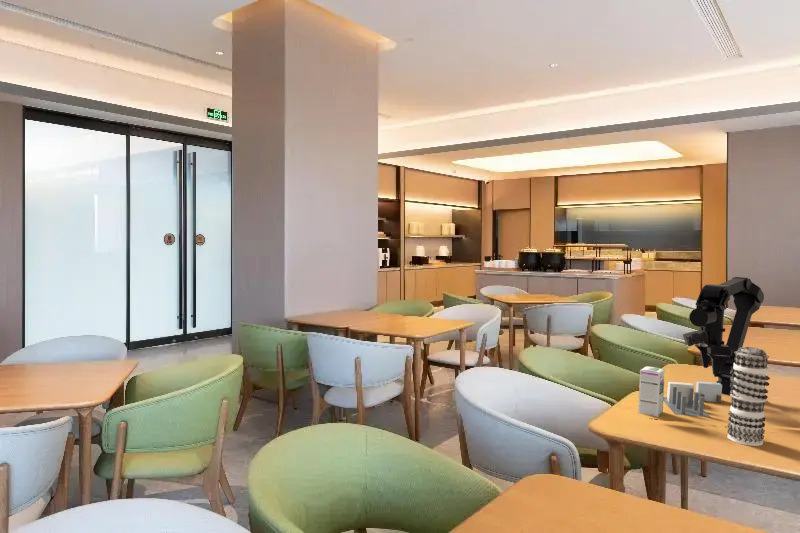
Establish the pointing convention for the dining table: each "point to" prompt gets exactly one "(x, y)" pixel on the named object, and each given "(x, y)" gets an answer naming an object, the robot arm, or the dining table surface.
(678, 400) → the rack
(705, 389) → the white long rectangular block
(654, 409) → the syrup box
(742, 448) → the dining table surface
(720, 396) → the stand
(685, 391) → the white rectangular block
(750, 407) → the decorative candle
